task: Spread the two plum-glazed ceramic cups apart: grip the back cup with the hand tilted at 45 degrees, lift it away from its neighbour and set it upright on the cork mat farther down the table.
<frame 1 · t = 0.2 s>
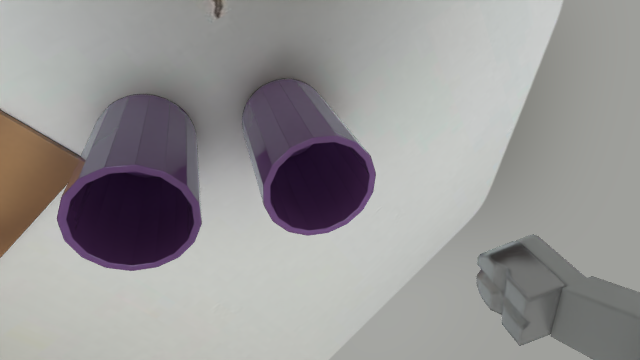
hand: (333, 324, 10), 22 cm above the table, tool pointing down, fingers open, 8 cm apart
cup b: (285, 120, 30), on the table
cup a: (148, 138, 28), on the table
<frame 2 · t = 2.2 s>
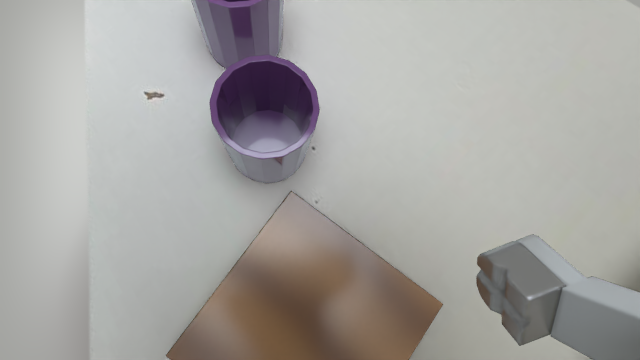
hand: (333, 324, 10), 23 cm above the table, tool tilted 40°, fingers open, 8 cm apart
mat: (310, 327, 32), on the table
cup b: (244, 38, 35), on the table
cup a: (267, 145, 34), on the table
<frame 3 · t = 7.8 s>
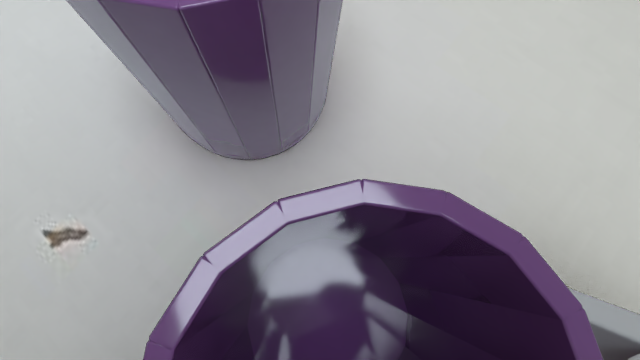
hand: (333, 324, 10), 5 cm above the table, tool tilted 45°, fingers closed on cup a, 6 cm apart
cup b: (249, 84, 17), on the table
cup a: (327, 316, 15), on the table, touching gripper
when the fingers open (6 cm above the table, at t = 15.8 s): cup a stays where it is, resting on mat.
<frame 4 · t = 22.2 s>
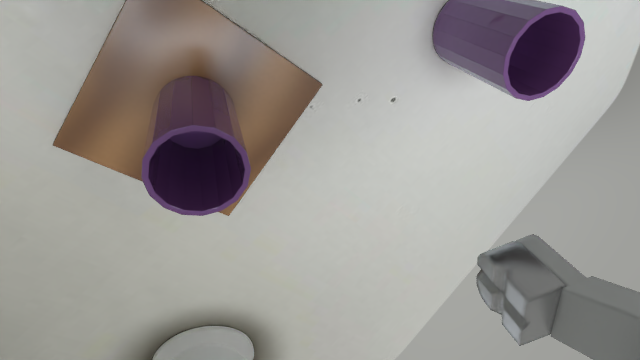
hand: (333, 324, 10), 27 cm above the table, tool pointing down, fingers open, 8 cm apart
decorative vase: (204, 357, 51), on the table
mat: (194, 111, 34), on the table
cup b: (464, 28, 36), on the table
cup a: (195, 114, 33), resting on mat
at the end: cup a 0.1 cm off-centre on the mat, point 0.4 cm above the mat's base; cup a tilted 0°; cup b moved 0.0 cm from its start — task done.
